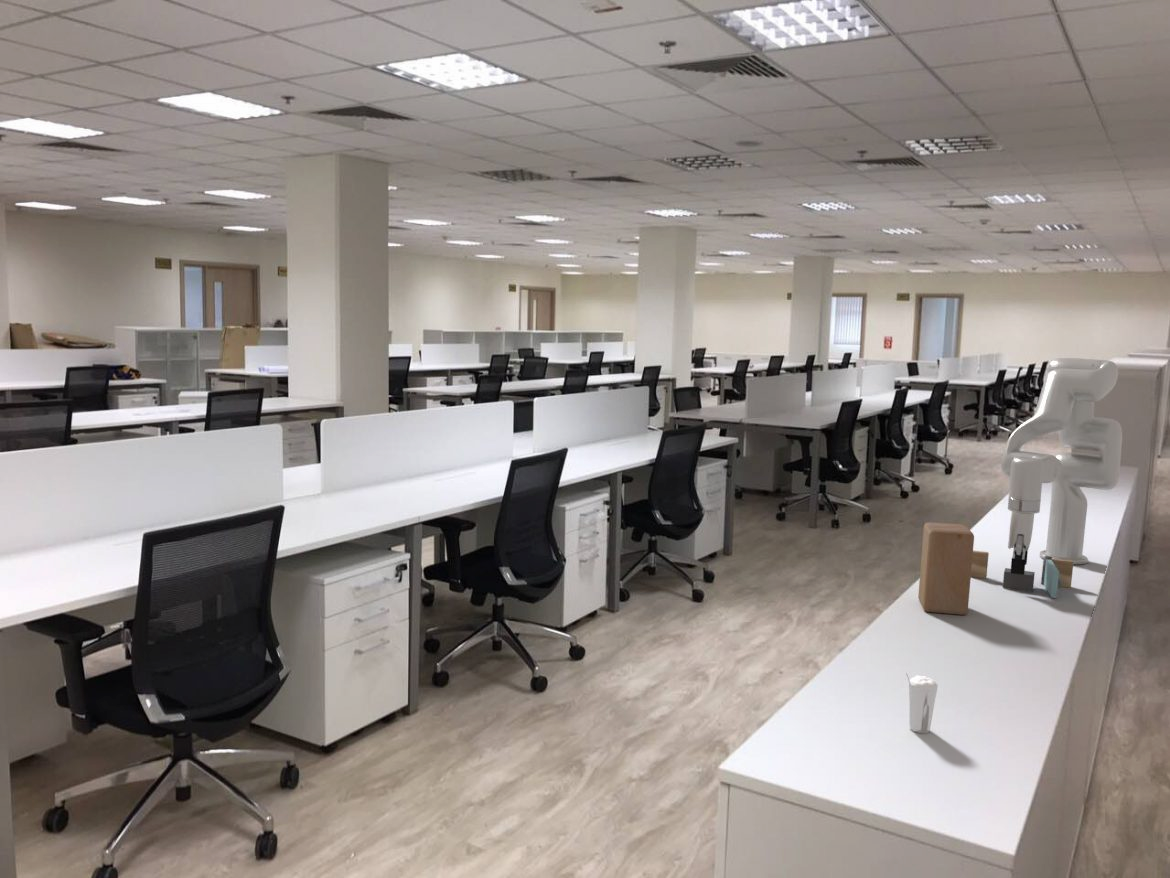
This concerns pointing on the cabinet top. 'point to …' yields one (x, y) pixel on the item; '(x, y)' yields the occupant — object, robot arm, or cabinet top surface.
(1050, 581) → the door
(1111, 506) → the cabinet top surface
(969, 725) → the cabinet top surface
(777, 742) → the cabinet top surface
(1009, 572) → the charcoal brick
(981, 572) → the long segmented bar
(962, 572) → the wooden block
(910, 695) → the milkshake
